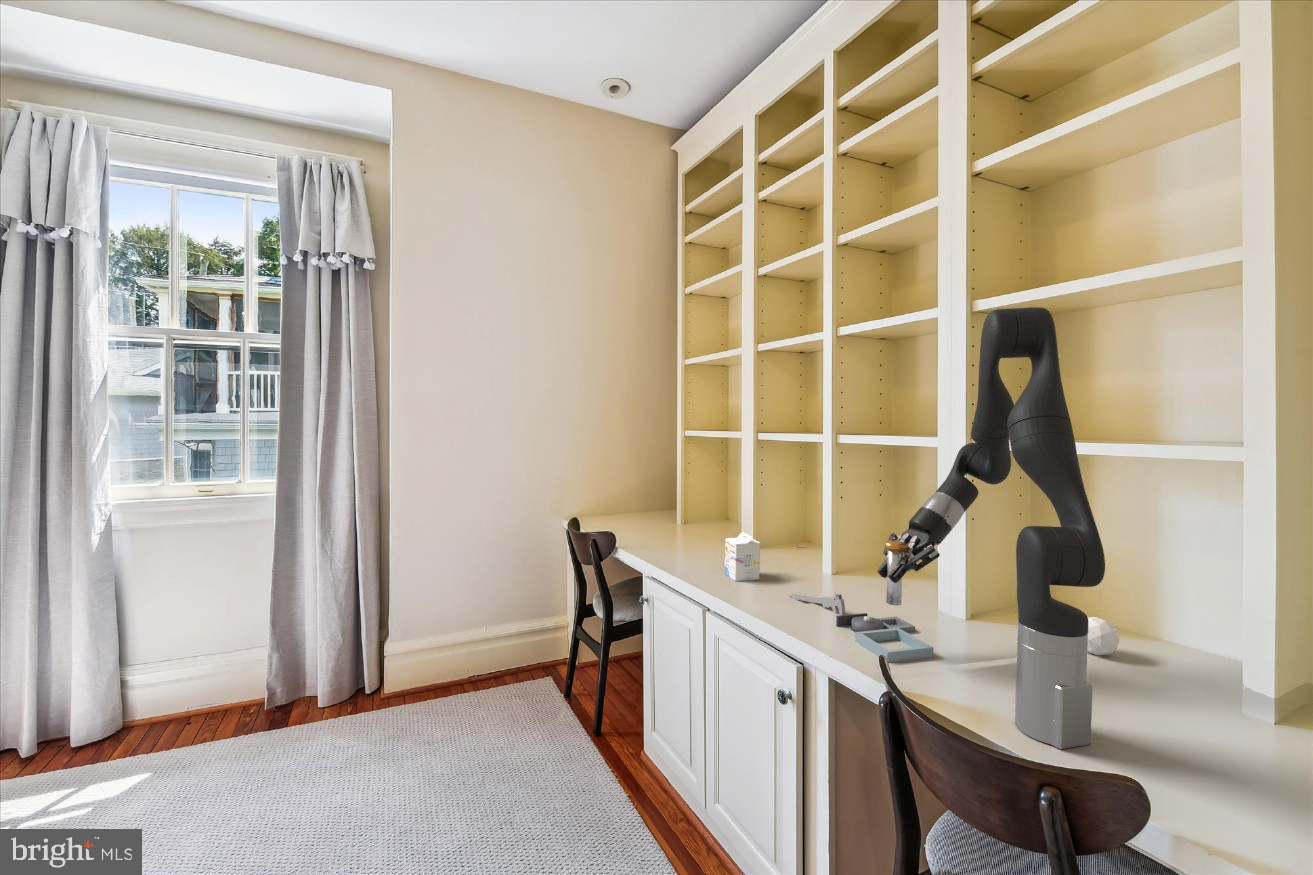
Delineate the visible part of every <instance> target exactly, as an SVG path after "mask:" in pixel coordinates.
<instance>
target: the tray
mask: <svg viewBox="0 0 1313 875" xmlns="http://www.w3.org/2000/svg"><path fill="white" fill-rule="evenodd" d="M854 633H855V635H854V636H855V638H854V642H855V643H857V644H859V645H860V646H861V647H863V648H865V649H866V650H867V651H869V652H870V653H872V654H874V655H875V656H876V657H878V658H879V656H880V655H881V654H883V655H884V656H886V658H887V662H886V663H894V662H903V661H912V660H920V659H928V658H929V659H930V658H934V646H931V645H930V644H929V643H926V641H923V640H922V639H919V638H917V636H914V635H913V634H911V635H910V634H908V633H907V632H905V631H903V630H901V629H899V628H893V629H883V630H873V631H863V632H854ZM890 640H891V641H892V640H898V641H900V642H901V643H904V644H906V645H907V646H909V647H904V648H895V649H888V648H886V647H884V646H882V645H881V644H880V643H878V642H882V641H890Z"/></svg>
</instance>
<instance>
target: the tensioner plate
mask: <svg viewBox="0 0 1313 875" xmlns="http://www.w3.org/2000/svg"><path fill="white" fill-rule="evenodd" d="M835 623H836V624H835V625H836V627H845V628H847V629H848V630H850V631H853V633H855V632H863V631H873V630H883V629H893V628H899V629H901V630H903V631H905V632H907V633H908V634H910V635H919V634H920V633H919V632H918V631H916V626H915V625H913V624H912V623H909V622H907V621H906V620H903V619H902V618H900V617H898V616H890V617H889V616H888V617H886V616H885V617H877V618H875V617H871V616H868V613H867V612H861V613H853V614H851V613H850V614H845V615H840V614H839V615H836V622H835Z"/></svg>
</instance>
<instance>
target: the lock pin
mask: <svg viewBox="0 0 1313 875" xmlns="http://www.w3.org/2000/svg"><path fill="white" fill-rule="evenodd" d="M883 547H884V549H885V548H887V549H888V554H887V557H886V559H887V577H886V598H885V603H886V604H888V605H890V606H902V602H903V601H902V600H903V599H902V598H903V597H902V596H903V594H902V592H903V577H902V578H901V579H900V580H899V581H898V582H897V583H894V582H892V581H891V580H890V579H889V578H888V575H889V574H890V572H891V571H892V570H893V569H894V568H895V566H896V565H897V564H898V563H899V564H901V563H900V561H901V560H902V558H903V553H904V552H903V550H906V549H907V543H905V542H901V541H893V540H890V541H888V540H885V541H883Z"/></svg>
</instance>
